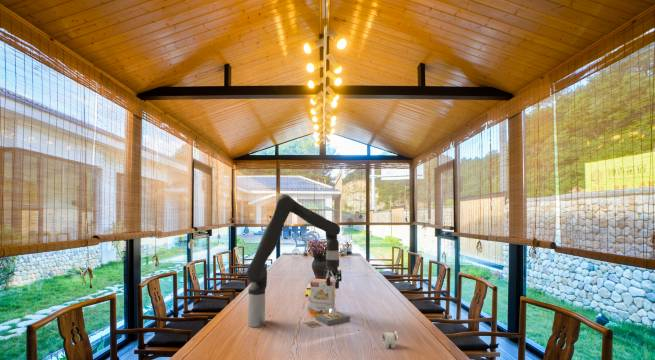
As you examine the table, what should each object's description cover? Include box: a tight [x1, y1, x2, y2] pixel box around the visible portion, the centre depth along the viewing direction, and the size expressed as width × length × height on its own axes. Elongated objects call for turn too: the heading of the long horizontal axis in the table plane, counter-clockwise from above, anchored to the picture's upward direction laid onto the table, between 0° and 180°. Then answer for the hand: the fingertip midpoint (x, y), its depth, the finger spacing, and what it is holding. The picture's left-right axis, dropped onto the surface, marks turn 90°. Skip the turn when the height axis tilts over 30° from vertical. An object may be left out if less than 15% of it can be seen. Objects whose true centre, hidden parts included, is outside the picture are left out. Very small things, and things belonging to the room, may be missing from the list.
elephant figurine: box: [381, 330, 399, 349], centre depth 175 cm, size 8×10×7 cm
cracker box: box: [309, 278, 336, 314], centre depth 226 cm, size 14×6×21 cm, turn 73°
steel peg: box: [329, 307, 337, 318], centre depth 209 cm, size 4×4×8 cm
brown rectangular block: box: [302, 320, 324, 329], centre depth 202 cm, size 10×7×2 cm
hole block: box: [315, 310, 351, 326], centre depth 209 cm, size 12×15×4 cm
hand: (332, 287), depth 211 cm, fingers open, 8 cm apart
